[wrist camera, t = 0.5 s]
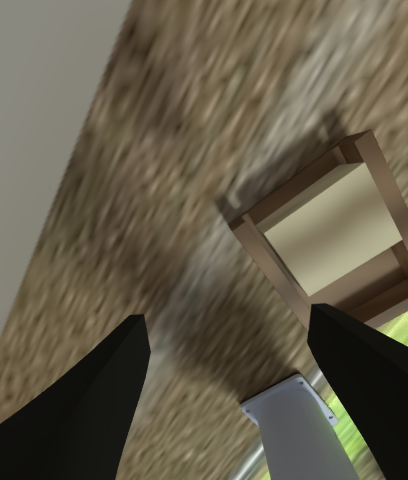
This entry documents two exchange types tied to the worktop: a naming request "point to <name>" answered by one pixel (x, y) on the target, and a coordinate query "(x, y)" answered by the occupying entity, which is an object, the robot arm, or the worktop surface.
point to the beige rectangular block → (330, 227)
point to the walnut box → (359, 279)
